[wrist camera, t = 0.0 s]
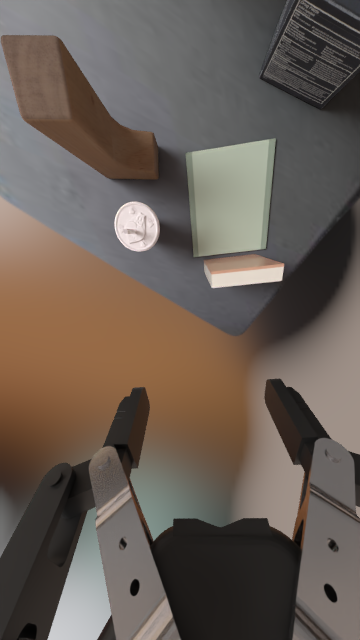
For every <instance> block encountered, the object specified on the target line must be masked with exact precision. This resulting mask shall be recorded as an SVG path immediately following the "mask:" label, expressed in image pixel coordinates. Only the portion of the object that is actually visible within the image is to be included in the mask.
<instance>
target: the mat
mask: <svg viewBox="0 0 360 640" xmlns="http://www.w3.org/2000/svg"><path fill="white" fill-rule="evenodd" d="M275 142H276V138H275V139H269V140H263V141H257V142H251V143H244V144H238V145H232V146H226V147H220V148H214V149H208V150H202V151H196V152H189V153H186V164H187V177H188V190H189V203H190V216H191V229H192V242H193V255H194V257H200V256H208V255H217V254H225V253H234V252H242V251H251V250H259V249H266V241H267V230H268V219H269V208H270V197H271V186H272V175H273V164H274V153H275Z"/></svg>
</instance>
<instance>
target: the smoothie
mask: <svg viewBox="0 0 360 640" xmlns="http://www.w3.org/2000/svg"><path fill="white" fill-rule="evenodd" d="M115 231H116V234H117V236H118V238H119V240H120V241H121V243H122V244H123V245H124V246H125V247H127V248H128V249H130V250H133V251H146V250H148V249H150V248H151V247H153V246H154V245H155V243H156V242H157V240H158V237H159V233H160V226H159V221H158V218H157V216H156V214H155V213H154V211H153V210H152V209H151V208H150V207H149V206H147V205H145V204H143V203H140V202H129V203H126V204H125V205H123V206H122V207H121V208H120V209H119V210H118V212H117V214H116V217H115Z"/></svg>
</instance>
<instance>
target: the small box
mask: <svg viewBox="0 0 360 640" xmlns="http://www.w3.org/2000/svg"><path fill="white" fill-rule="evenodd" d="M359 72H360V0H287V2H286V4H285V6H284V8H283V11H282V13H281V16H280V18H279V21H278V24H277V26H276V29H275V32H274V35H273V38H272V40H271V43H270V46H269V49H268V51H267V54H266V57H265V60H264V63H263V65H262V68H261V71H260V74H259V78H261V79H263V80H265V81H266V82H268V83H270V84H272V85H274V86H276V87H278V88H280V89H282V90H284V91H286V92H288V93H290V94H292V95H294V96H296V97H298V98H299V99H301V100H303V101H305V102H307V103H309V104H311V105H313V106H315V107H317V108H319V109H322V108H323V107H325V106H326V104H327V103H328V102H329V101H330V100H331V99H332V98H333V97H334V96H335V95H336V94H337V93H338V92H339V91H340V90H341V89H342V88H343V87H344V86H346V85H347V84H348V83H349V82H350V81H351V80H352V79H353V78H354V77H355V76H356V75H357V74H358V73H359Z"/></svg>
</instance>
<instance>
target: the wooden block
mask: <svg viewBox="0 0 360 640" xmlns="http://www.w3.org/2000/svg"><path fill="white" fill-rule="evenodd" d="M1 44H2V47H3V51H4V55H5V59H6V62H7V66H8V70H9V74H10V77H11V81H12V85H13V89H14V92H15V96H16V100H17V103H18V107H19V111H20V114H21V116H22V118H23V120H24V121H25V122H27V123H28V124H30V125H31V126H33V127H34V128H36V129H37V130H38V131H40V132H41V133H43V134H44V135H46V136H47V137H49V138H50V139H52V140H53V141H54V142H56V143H57V144H59V145H60V146H62V147H63V148H65V149H66V150H68V151H69V152H70V153H72V154H73V155H75V156H76V157H78V158H79V159H81V160H82V161H84V162H85V163H86V164H88V165H89V166H91V167H92V168H94V169H95V170H97V171H98V172H99V173H101V174H102V175H104V176H105V177H107V178H109V179H158V178H159V163H158V145H157V142H156V139H155V136H154V133H152V132H146V131H137V130H131V129H129V128H127V127H124V126H122V125H120V124H119V123H118V122H116V121H115V120H114V119H113V118H112V117H111V116H110V114H109V113H108V111H107V110H106V108H105V107H104V105H103V104H102V102H101V101H100V99H99V97H98V96H97V94H96V93H95V91H94V90H93V88H92V87H91V85H90V84H89V82H88V81H87V79H86V78H85V76H84V74H83V73H82V71H81V70H80V68H79V67H78V65H77V64H76V62H75V61H74V59H73V58H72V56H71V54H70V53H69V51H68V50H67V48H66V47H65V45H64V44H63V42H62V41H61V39H59V38H58V37H56V36H37V35H3V36H2V37H1Z"/></svg>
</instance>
